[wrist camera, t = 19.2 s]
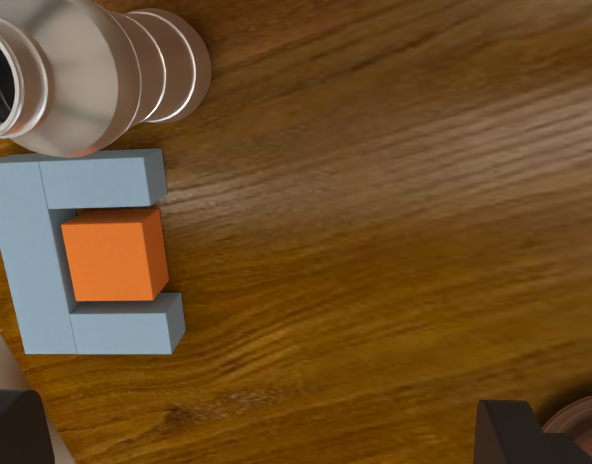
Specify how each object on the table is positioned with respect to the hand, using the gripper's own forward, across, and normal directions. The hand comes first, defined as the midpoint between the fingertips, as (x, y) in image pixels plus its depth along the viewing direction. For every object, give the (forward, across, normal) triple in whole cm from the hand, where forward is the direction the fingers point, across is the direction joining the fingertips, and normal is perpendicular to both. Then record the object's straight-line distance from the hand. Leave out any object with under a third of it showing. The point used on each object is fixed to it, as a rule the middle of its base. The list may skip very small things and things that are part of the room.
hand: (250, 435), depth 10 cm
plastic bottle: (+28, +10, -6) cm, 30 cm away
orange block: (+28, +14, +6) cm, 32 cm away
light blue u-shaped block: (+28, +16, +6) cm, 33 cm away
